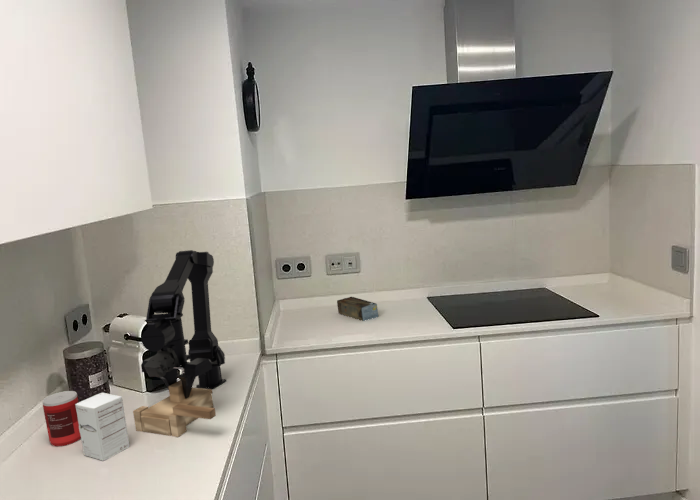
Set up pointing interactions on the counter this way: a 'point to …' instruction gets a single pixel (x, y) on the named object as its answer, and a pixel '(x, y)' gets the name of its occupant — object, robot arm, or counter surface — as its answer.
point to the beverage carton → (357, 308)
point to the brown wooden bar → (194, 411)
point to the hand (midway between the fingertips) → (180, 397)
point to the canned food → (62, 418)
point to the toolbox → (167, 421)
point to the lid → (175, 401)
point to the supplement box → (102, 426)
